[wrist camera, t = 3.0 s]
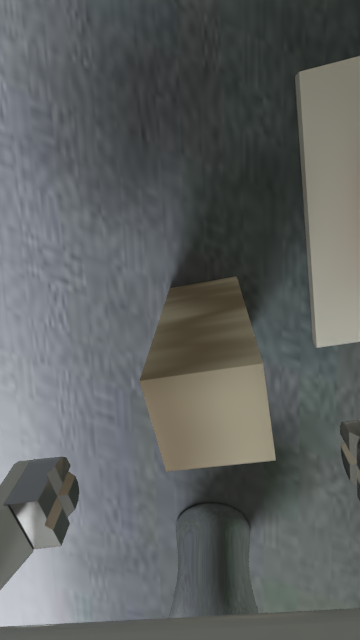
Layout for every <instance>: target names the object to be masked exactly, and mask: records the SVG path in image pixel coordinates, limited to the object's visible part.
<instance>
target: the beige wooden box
mask: <svg viewBox="0 0 360 640" xmlns="http://www.w3.org/2000/svg"><path fill="white" fill-rule="evenodd" d="M140 384H141V388H142V391H143V394H144V398H145V401H146V405H147V408H148V411H149V415H150V418H151V421H152V425H153V428H154V432H155V435H156V438H157V442H158V445H159V448H160V452H161V455H162V459H163V462H164V465H165V469H166V471H175V470H185V469H195V468H205V467H215V466H225V465H235V464H245V463H255V462H265V461H275V460H276V458H275V450H274V443H273V435H272V428H271V420H270V413H269V405H268V398H267V390H266V383H265V375H264V368H263V362H262V359H261V355H260V352H259V349H258V345H257V342H256V339H255V336H254V332H253V329H252V326H251V322H250V319H249V316H248V312H247V309H246V306H245V302H244V299H243V296H242V292H241V289H240V286H239V283H238V279H237V276H235V277H229V278H224V279H218V280H213V281H207V282H202V283H196V284H191V285H185V286H179V287H174V288H170V289H169V292H168V295H167V298H166V301H165V304H164V308H163V311H162V314H161V317H160V320H159V323H158V326H157V329H156V332H155V335H154V338H153V341H152V344H151V347H150V350H149V353H148V356H147V359H146V363H145V366H144V369H143V372H142V375H141V378H140Z"/></svg>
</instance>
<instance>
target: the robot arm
mask: <svg viewBox="0 0 360 640" xmlns="http://www.w3.org/2000/svg"><path fill="white" fill-rule="evenodd" d="M340 434H341V436H342V438H343V440H344V442H343V444H342V445H341V456H342V461H343V465H344V468H345V471H346V474H347V476H348V478H349V480H350V482H351V483H353V484H354V485H356V486H357V497H358V499H359V501H360V420H354V421H346V422H341V425H340ZM69 468H70V464H69V462H68V460H67V458H66V457H54V458H44V459H34V460H27V461H19V462H17V463H15V464H14V465H13V467H12V468H11V470H10V471H9V473H8V474H7V476H6V478H5V479H4V481H3V482H2V484H1V485H0V590H1V589H2V588H3V586H4V585H5V584H6V583H7V582H8V581H9V579H10V578H11V577H12V576H13V575H14V573H15V572H16V571H17V570H18V569H19V568H20V566H21V565H22V564H23V563H24V562H25V561H26V559H27V558H28V557H29V556H30V555H31V554H32V552H33V549H41V548H50V547H58V546H61V545H62V543H63V540H64V537H65V535H66V532H67V529H68V527H69V524H70V523H69V520H68V516H69V515H70V514H71V513H72V512H73V511H74V510H75V508H76V505H77V502H78V497H79V486H78V481H77V479H76V477H75V476H74V475H73V474H71V473H70V472H68V471H69ZM0 640H360V608H353V609H334V610H315V611H296V612H277V613H258V614H238V615H219V616H200V617H181V618H161V619H142V620H123V621H103V622H84V623H65V624H46V625H26V626H7V627H0Z"/></svg>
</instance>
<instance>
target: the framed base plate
mask: <svg viewBox="0 0 360 640" xmlns="http://www.w3.org/2000/svg"><path fill="white" fill-rule="evenodd" d="M295 86H296V101H297V116H298V130H299V145H300V160H301V174H302V189H303V204H304V219H305V233H306V248H307V263H308V277H309V292H310V307H311V322H312V336H313V343H314V344H315V346H316V347H317V348H319V347H326V346H332V345H339V344H346V343H353V342H360V56H358V57H354V58H350V59H346V60H342V61H338V62H335V63H331V64H327V65H323V66H319V67H315V68H312V69H308V70H304V71H300V72H298V74H297V75H296V76H295Z"/></svg>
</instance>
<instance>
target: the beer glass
mask: <svg viewBox="0 0 360 640" xmlns="http://www.w3.org/2000/svg"><path fill="white" fill-rule="evenodd" d="M176 539H177V549H178V574H177V582H176V587H175V592H174V597H173V601H172V606H171V610H170V614H169V618H181V617H200V616H219V615H238V614H258V609H257V606H256V602H255V598H254V594H253V590H252V585H251V579H250V571H249V548H250V527H249V524H248V522H247V520H246V518H245V517H244V516H243V515H242V514H241V513H240V512H239V511H237V510H236V509H234V508H232V507H229V506H227V505H223V504H218V503H204V504H199V505H195V506H193V507H191V508H189V509H187V510H186V511H184V512H183V513H182V514H181V515H180V517H179V518H178V521H177V524H176Z"/></svg>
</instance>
